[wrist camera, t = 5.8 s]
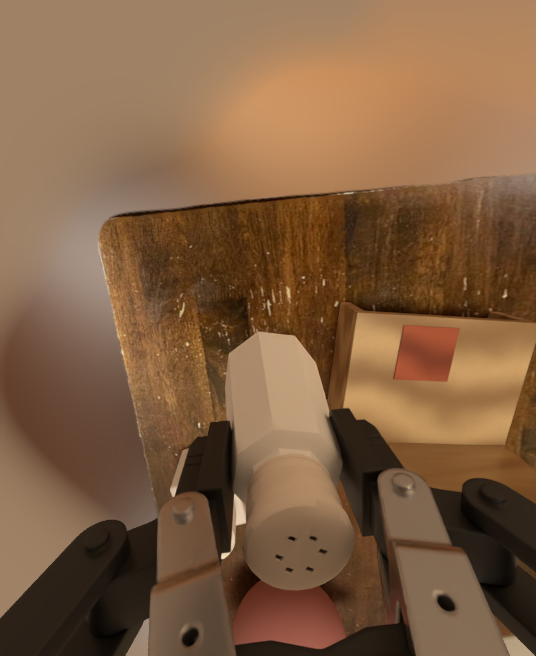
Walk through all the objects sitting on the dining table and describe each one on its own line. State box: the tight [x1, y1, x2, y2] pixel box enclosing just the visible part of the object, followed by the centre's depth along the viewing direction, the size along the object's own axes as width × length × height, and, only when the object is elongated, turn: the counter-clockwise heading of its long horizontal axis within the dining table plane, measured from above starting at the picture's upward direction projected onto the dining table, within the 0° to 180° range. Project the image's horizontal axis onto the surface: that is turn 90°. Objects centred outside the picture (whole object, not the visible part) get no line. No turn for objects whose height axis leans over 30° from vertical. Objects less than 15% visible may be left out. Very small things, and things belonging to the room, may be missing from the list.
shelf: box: [327, 302, 536, 504], centre depth 32 cm, size 16×20×16 cm
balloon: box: [232, 580, 346, 649], centre depth 41 cm, size 15×20×15 cm
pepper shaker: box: [225, 332, 355, 590], centre depth 13 cm, size 5×5×11 cm
